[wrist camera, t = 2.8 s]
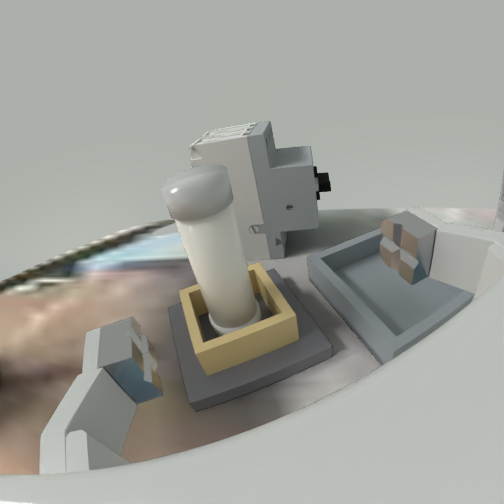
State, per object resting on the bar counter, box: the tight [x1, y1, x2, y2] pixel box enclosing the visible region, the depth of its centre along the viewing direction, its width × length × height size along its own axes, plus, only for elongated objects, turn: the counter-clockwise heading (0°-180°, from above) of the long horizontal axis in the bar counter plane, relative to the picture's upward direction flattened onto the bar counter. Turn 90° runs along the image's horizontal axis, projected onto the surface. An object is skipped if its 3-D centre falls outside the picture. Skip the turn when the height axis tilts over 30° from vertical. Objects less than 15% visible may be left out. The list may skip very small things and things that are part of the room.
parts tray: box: [307, 228, 474, 365], centre depth 27 cm, size 12×14×3 cm
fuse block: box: [168, 262, 332, 411], centre depth 26 cm, size 12×12×4 cm
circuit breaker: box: [189, 121, 331, 261], centre depth 35 cm, size 8×14×15 cm, turn 81°
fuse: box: [161, 164, 263, 338], centre depth 23 cm, size 4×4×14 cm
